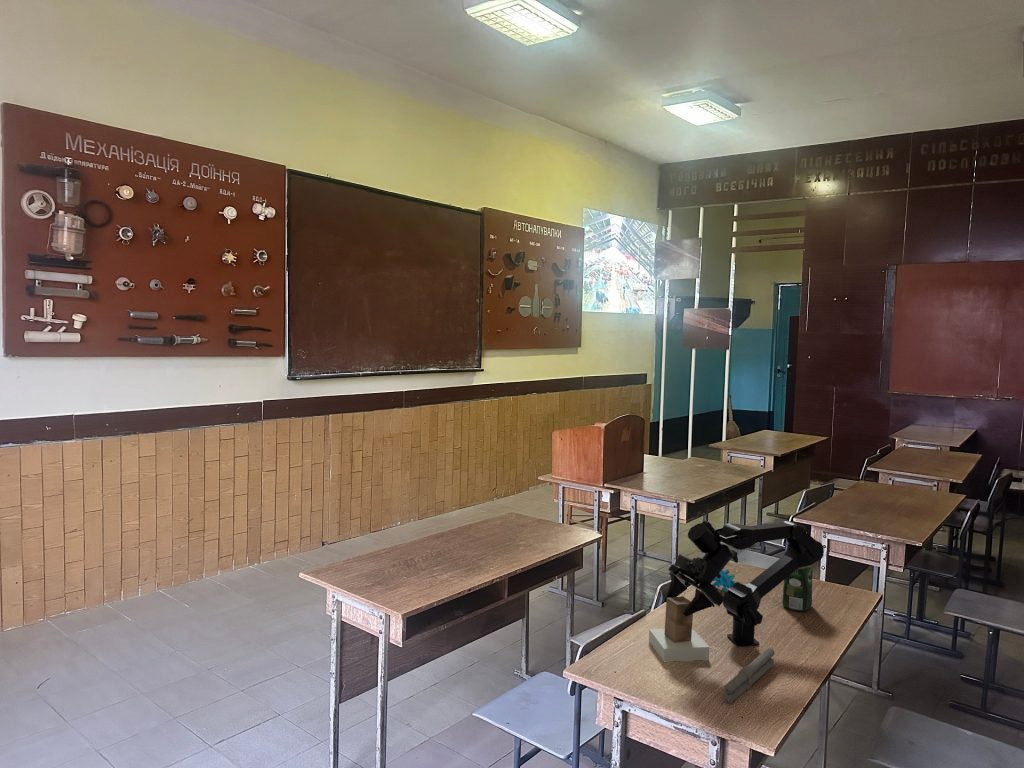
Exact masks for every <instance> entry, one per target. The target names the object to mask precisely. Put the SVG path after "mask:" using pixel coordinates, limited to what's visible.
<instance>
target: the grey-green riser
mask: <svg viewBox="0 0 1024 768" xmlns="http://www.w3.org/2000/svg"><path fill="white" fill-rule="evenodd" d="M664 633H665V628H649V629H648V642H650V643H649V644H650V646H651V647H652V646H653V647H652V648H653V649H654V651H655V650H656V651H657V652H656V651H655V652H656V654H657V653H658V654H659V655H658V654H657V655H658V656H659V658H660V657H661V658H662V659H663V660H662V659H661V658H660V659H661V660H662V662H663V661H682V662H694V661H693V660H704V661H710V646H709V645H708V644H707V643H706V641H705V640H704V639H703V638H702V637H701V636H700V635H699V633H697V631H696V630H694V628H693V627H692V636H691V641H683V642H673V641H672V640H671V639H670V638H668V637H667V636H666V635H664Z"/></svg>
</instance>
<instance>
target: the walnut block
mask: <svg viewBox="0 0 1024 768" xmlns="http://www.w3.org/2000/svg"><path fill="white" fill-rule="evenodd" d="M691 601H692V600H691ZM691 601H690V599H688V598H686V597H685V596H677V597H669V598H667V602H665V604H666V605H665V619H664V621H665V622H664V629H665V633H664V635H666V636H667V637H668V638H670V639H671V640H672V641H673V642H683V641H691V636H692V628H693V617H694V613H693V614H691V615H689V616H684V614H683V613H684V611H685V609H686V608H687V606H688V605H689V604H690V602H691Z"/></svg>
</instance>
